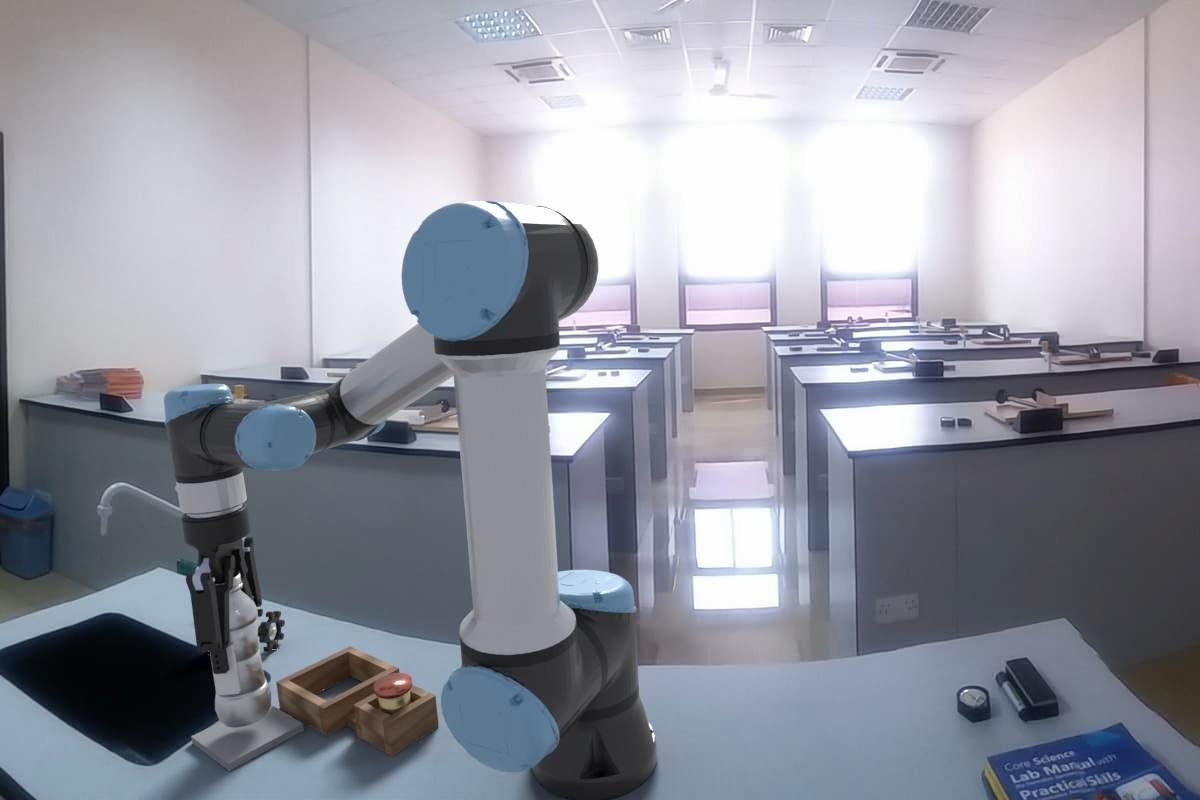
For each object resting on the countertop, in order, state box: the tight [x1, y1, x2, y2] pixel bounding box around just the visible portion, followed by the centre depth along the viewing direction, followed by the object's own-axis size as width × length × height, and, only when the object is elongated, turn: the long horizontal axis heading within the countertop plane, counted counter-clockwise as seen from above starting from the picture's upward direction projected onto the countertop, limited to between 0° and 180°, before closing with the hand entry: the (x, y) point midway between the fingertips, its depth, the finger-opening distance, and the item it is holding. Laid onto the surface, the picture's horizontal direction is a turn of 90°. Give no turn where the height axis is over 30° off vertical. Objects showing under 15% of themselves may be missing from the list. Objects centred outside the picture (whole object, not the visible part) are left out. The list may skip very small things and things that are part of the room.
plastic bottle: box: [214, 571, 272, 728], centre depth 99 cm, size 6×7×20 cm
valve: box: [207, 610, 286, 653], centre depth 125 cm, size 7×7×12 cm
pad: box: [190, 704, 305, 772], centre depth 101 cm, size 10×10×1 cm
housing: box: [275, 646, 440, 757], centre depth 105 cm, size 23×12×4 cm, turn 52°
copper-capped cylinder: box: [374, 672, 413, 715], centre depth 100 cm, size 5×5×7 cm
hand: (240, 678), depth 100 cm, fingers closed on plastic bottle, 6 cm apart
